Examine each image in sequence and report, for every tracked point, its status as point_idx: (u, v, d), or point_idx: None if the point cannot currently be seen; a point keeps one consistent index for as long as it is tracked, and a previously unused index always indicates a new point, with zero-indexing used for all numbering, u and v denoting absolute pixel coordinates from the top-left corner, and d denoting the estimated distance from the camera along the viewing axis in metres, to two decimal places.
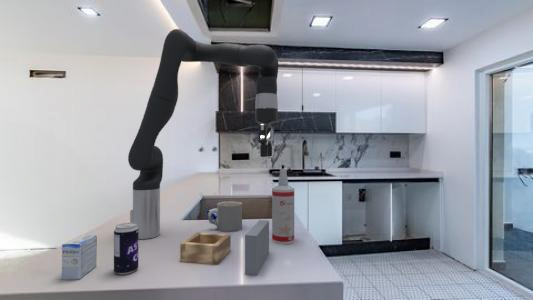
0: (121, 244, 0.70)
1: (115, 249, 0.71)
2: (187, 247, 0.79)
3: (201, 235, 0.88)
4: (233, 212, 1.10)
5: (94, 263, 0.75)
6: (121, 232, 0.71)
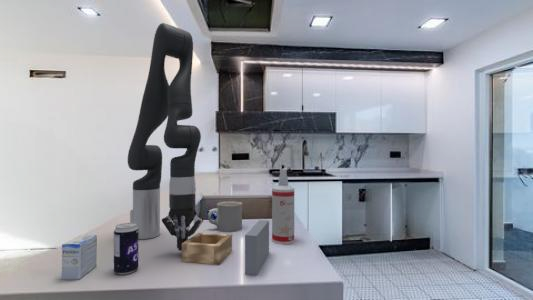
0: (121, 244, 0.70)
1: (115, 249, 0.71)
2: (188, 247, 0.79)
3: (202, 235, 0.88)
4: (233, 212, 1.10)
5: (94, 263, 0.75)
6: (121, 232, 0.71)
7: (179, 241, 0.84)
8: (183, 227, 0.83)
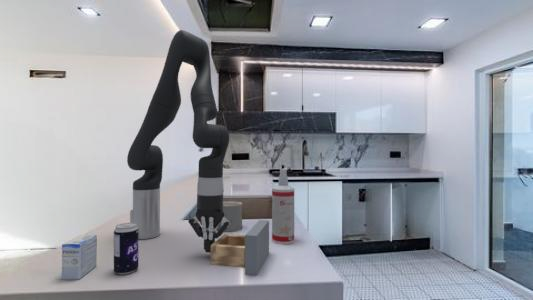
0: (121, 244, 0.70)
1: (115, 249, 0.71)
2: (217, 249, 0.77)
3: (229, 237, 0.87)
4: (233, 212, 1.10)
5: (94, 263, 0.75)
6: (121, 232, 0.71)
7: (206, 243, 0.82)
8: (211, 229, 0.82)
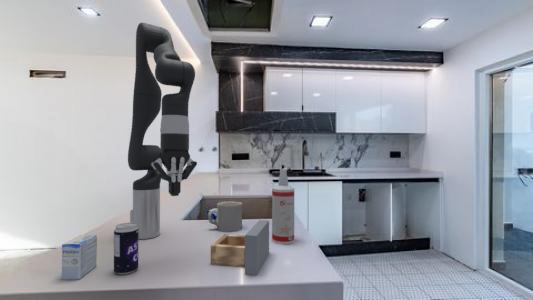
0: (121, 244, 0.70)
1: (115, 249, 0.71)
2: (217, 249, 0.77)
3: (229, 237, 0.87)
4: (233, 212, 1.10)
5: (94, 263, 0.75)
6: (121, 232, 0.71)
7: (175, 186, 0.78)
8: (181, 169, 0.78)
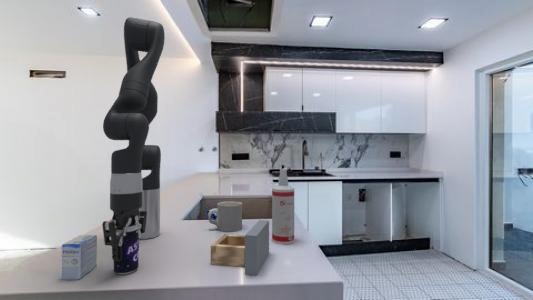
0: None
1: None
2: (217, 249, 0.77)
3: (229, 237, 0.87)
4: (233, 212, 1.10)
5: (94, 263, 0.75)
6: None
7: (121, 249, 0.70)
8: (138, 226, 0.76)
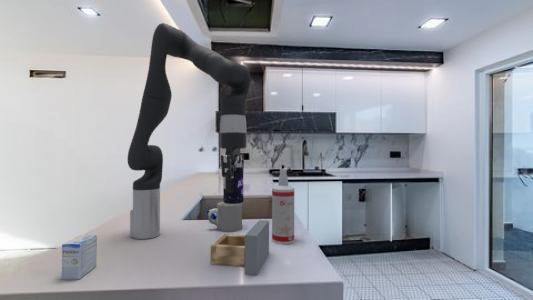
0: None
1: None
2: (217, 249, 0.77)
3: (229, 237, 0.87)
4: (233, 212, 1.10)
5: (94, 263, 0.75)
6: None
7: (233, 182, 0.78)
8: None
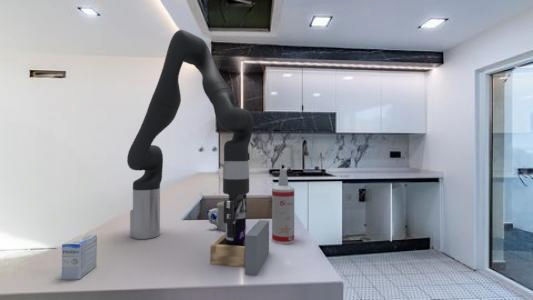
0: None
1: None
2: (217, 249, 0.77)
3: None
4: None
5: (94, 263, 0.75)
6: None
7: (235, 227, 0.78)
8: (244, 207, 0.85)
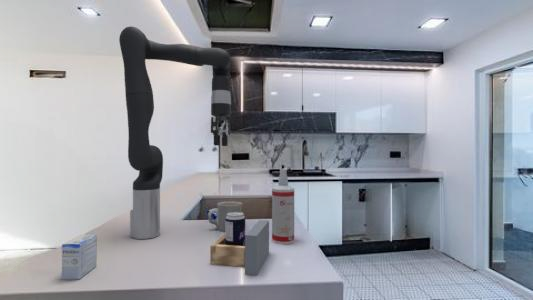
0: (234, 230, 0.79)
1: (228, 234, 0.80)
2: (217, 249, 0.77)
3: None
4: None
5: (94, 263, 0.75)
6: (234, 219, 0.79)
7: (219, 137, 1.05)
8: (227, 128, 1.12)
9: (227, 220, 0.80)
